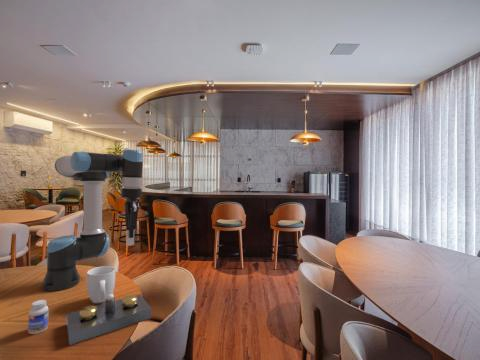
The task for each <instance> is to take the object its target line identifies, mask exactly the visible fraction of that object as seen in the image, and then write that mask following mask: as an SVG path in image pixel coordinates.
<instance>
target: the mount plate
mask: <svg viewBox="0 0 480 360" xmlns="http://www.w3.org/2000/svg"><path fill="white" fill-rule="evenodd" d="M135 296H137V304H136V305H135V306H134V307H133V308H130V309H126V308H124V307H123V298H121V299H117V300H115V311H114V312H112V313H105V303H100V304H99V305H95V306H96V307H97V315H96V316H95V317H94V318H93V319H92V320H89V321H85V322H84V320H80V310H81V309H79V310H75V311H72V312H68V313H66V331H67V337H68V338H67V339H68V346H69V347H70V346H72V345H76V344H78V343H82V342H84V341H87V340H90V339H94V338H97V337H99V336H103V335H106V334H108V333H111V332H114V331H117V330H121V329H123V328H124V329H125V328H126V327H129V326H132V325H136V324H138V322H139V323H142V322H145V321H148V320H151V319H152V307H151V306H150V305H149V304H148V302H147V301H146V300H145V298H144V296H142V294H136V295H135Z"/></svg>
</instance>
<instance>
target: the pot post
mask: <svg viewBox="0 0 480 360" xmlns="http://www.w3.org/2000/svg"><path fill="white" fill-rule="evenodd" d="M115 301H116V297H115V296H114V293H112V294H108V295H107V299H106V300H105V302H104V304H105V313H112V312H114V311H115Z"/></svg>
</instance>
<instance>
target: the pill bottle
mask: <svg viewBox="0 0 480 360" xmlns="http://www.w3.org/2000/svg"><path fill="white" fill-rule="evenodd" d="M48 327H49V307H48V305H47V300H46V299H39V300H36V301H33V302H32V303H31V309H30V310H29V311H28V328H27V329H28V332H27V333H28V334H31V335H36V334H40V333H42V332H45V331H46V330H47V329H48Z"/></svg>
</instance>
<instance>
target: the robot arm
mask: <svg viewBox="0 0 480 360" xmlns="http://www.w3.org/2000/svg"><path fill="white" fill-rule="evenodd" d="M143 162H144V157H143V151H142V150H139V149H123V151H122V154H113V153H112V154H111V153H98V152H97V153H96V152H86V151H74V152H73V153H72V154H71V155H63V156H60V157H59V158H57V159H56V160H55V162H54V169H55V171H56V173H58V174H59V175H61V176H63V177H66V178H69V179H70V178H71V179H80V183H81V184H82V185H83V230H82V231H81V232H80V236H79V237H77V235H74V234H70V235H64V236H63V235H62V236H59V237H56V238H53V239H51V240H50V241H49V242H47V248H46V258H47V259H46V260H47V261H46V273H45V275H44V277H43V280H42V283H41V289H42V290H43V291H45V292H58V291H63V290H67V289H70V288H73V287H74V286H76V285H77V286H78V284H79V283H80V281H81V280H80V277H81V276H80V274H79V272H78V269H77V262H78V261H83V260H88V259H94V258H98V257H101V256H104V255H106V254H107V253H108V251H109V248H110V236H109V234H108V233H106V230H105V229H103V185H104V184H105V182H106V179H108V178H109V177H110V173H118V174H119V173H121V175H122V176H121V179H120V183H121V187H122V188H121V197H122V198H124V199H126V201H125V203H124V219H125V220H124V226H125V227H126V228H125V230H126V235H125V237H126V238H125V241H126V243H125V245H126V246H127V247H128V246H135V230H137V225H138V216H139V215H138V213H139V209H140V207H139V206H138V204H139V203H138V201H137V200H138V198H142V194H143V193H142V192H143V191H142V190H143V189H142V187H143V165H144V164H143Z"/></svg>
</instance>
